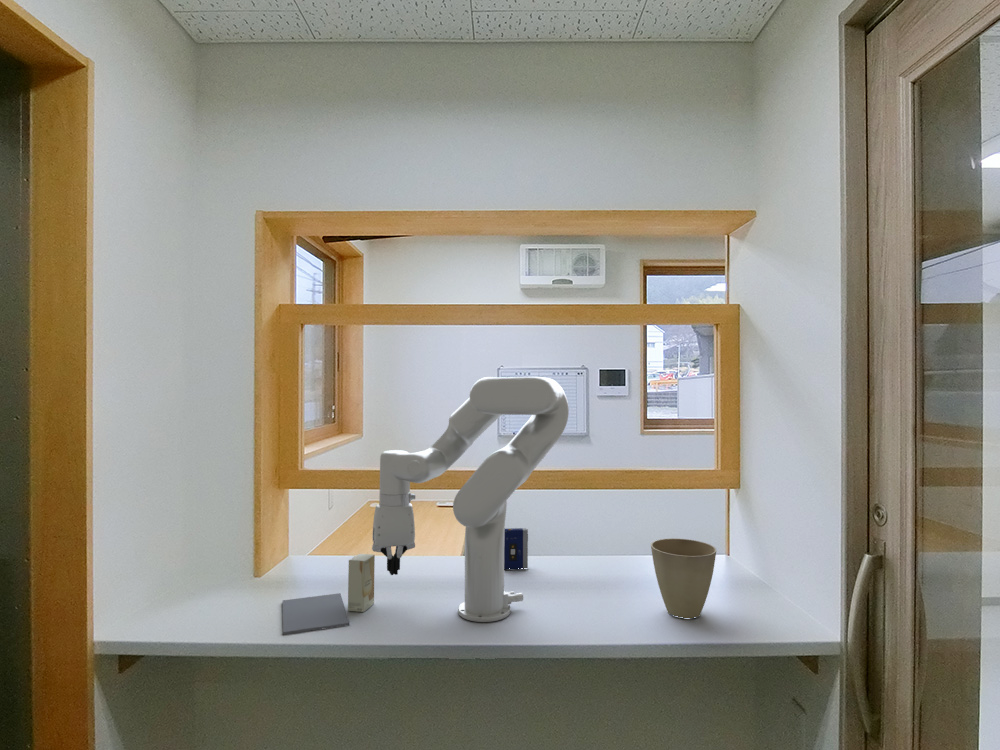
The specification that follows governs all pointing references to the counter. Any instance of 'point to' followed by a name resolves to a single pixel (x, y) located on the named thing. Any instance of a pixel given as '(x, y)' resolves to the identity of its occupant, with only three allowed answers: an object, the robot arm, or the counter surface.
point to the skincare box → (361, 582)
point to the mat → (313, 613)
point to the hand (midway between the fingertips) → (393, 573)
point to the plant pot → (683, 574)
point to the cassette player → (516, 548)
